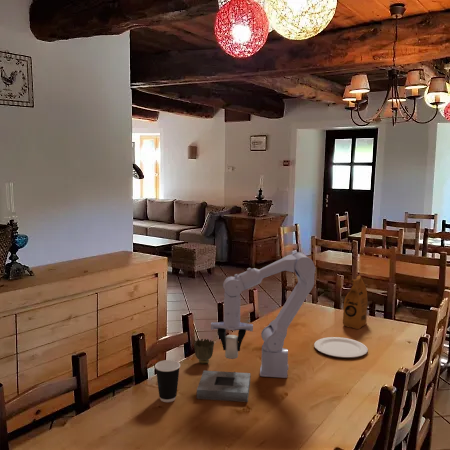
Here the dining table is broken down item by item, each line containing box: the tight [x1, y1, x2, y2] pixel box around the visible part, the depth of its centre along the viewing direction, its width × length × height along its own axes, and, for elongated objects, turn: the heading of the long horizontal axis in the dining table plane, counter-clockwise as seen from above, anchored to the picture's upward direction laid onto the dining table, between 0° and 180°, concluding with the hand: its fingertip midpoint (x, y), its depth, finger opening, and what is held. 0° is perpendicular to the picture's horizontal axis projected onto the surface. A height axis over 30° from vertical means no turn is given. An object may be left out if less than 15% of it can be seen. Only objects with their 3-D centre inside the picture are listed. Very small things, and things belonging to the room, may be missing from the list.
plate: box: [313, 336, 369, 359], centre depth 191 cm, size 21×21×2 cm
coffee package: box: [342, 275, 368, 330], centre depth 219 cm, size 10×12×22 cm
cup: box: [193, 338, 215, 365], centre depth 177 cm, size 8×7×8 cm
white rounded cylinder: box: [224, 334, 239, 360], centre depth 167 cm, size 4×4×7 cm
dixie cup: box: [154, 359, 181, 403], centre depth 150 cm, size 8×8×11 cm
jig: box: [196, 369, 251, 403], centre depth 157 cm, size 16×14×3 cm
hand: (231, 349), depth 167 cm, fingers closed on white rounded cylinder, 4 cm apart
